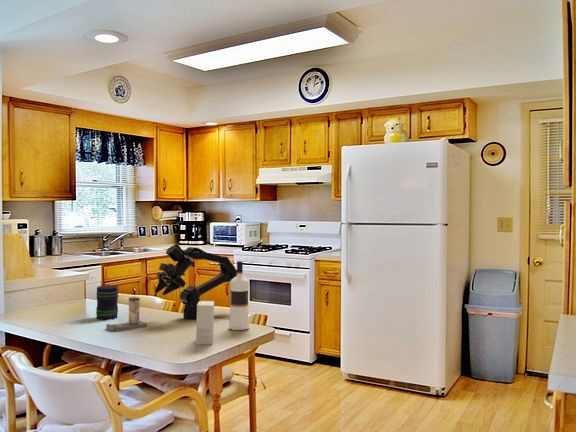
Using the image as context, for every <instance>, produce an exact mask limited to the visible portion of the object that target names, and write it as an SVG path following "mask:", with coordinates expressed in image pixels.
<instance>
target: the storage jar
mask: <svg viewBox="0 0 576 432" xmlns="http://www.w3.org/2000/svg"><path fill="white" fill-rule="evenodd" d="M118 299H119V286H118V285H100V286H96V302H97V303H96V307H95V308H96V309H95V310H96V311H95V312H96V314H95V315H96V320H98V319H99V321H109V320H108V319H112V320H116V319H118V318H117V317H119V316H118V314H119V306H118ZM115 318H116V319H115Z"/></svg>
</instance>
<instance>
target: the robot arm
mask: <svg viewBox="0 0 576 432" xmlns="http://www.w3.org/2000/svg"><path fill="white" fill-rule="evenodd" d="M165 254H166V255H167V256H168V257H169V258H170V259H171V260H172V261H173V262H175V263H176V264H175V265H174V264H173V263H170V262H169V263H168V264H167V263H160V265H159V267H158V270H159V272H158V273H157V274H156V275H155V276H156V277H157V280H158V282H157V285H156V287H155V290H154V293H155V294H158V293H159V292H160V291H163V292H162V296H166V295H168V294H170V293H172V292H174V291H176V290H179V289H180V288H182V291H180V293H179V299H180V301H181V302H182V304H183V306H184V308H183V310H182V311H183V316H182V317H183V319H184V320H197V304H198V302H199V301H201V299H200V298H201V296H202V295H204V294H205V293H208V292H209V291H211V290H213V289H215V288H217V287H218V286H221V285H222V284H225V283H228V282H229V283H230V282H231V280H232V279H233V278H235V277H236V276H237V268H236V266H234V264H233V263H232V262H231V261H230V259H229V257H227V256H225V255H224V256H223V255H219V254H215V253H211V252H210V253H209V252H207V251H205V250H204V249H201V248H199V247H193V246H189V247H187V248H186V249H182V248H181V246H180V245H179V244H178V243H174V244H173V245H171V246H170V247H168V248H167V249H166V251H165ZM193 260H195V261H196V260H197V261H198V260H200V261H201V260H203V261H210V262H213V263H217V264H218V265H219V269H220V272H219V274H218V275H216V276H214V277H213V278H210V279H209V280H207V281H205V282H204V283H202V284H200V285H197V286H193V285H188V286H187V287H186V288H185V286H186V281H185V280H184V279H183V277H184V276H185V275H186V271H187V270H189V268H195V267H196V266H195V261H193ZM160 271H162V272H160ZM163 289H164V290H163Z"/></svg>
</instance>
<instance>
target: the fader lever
mask: <svg viewBox="0 0 576 432" xmlns="http://www.w3.org/2000/svg"><path fill="white" fill-rule="evenodd" d="M140 299H141V298H140V297H137V296H131V297H129V298H128V322H129V323H132V324H136V323H139V321H140V301H141V300H140Z"/></svg>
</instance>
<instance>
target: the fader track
mask: <svg viewBox="0 0 576 432" xmlns="http://www.w3.org/2000/svg"><path fill="white" fill-rule="evenodd" d="M105 327H106V330H107V331H111V332H113V333H114V332H121V331H127V330H133V329H134V330H135V329H141V328H147V327H148V323H147V322H145V321H142V320H139V323H136V324H132V323H129V321H128V322H121V323H114V324H110V323H107V324H106V326H105Z"/></svg>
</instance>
